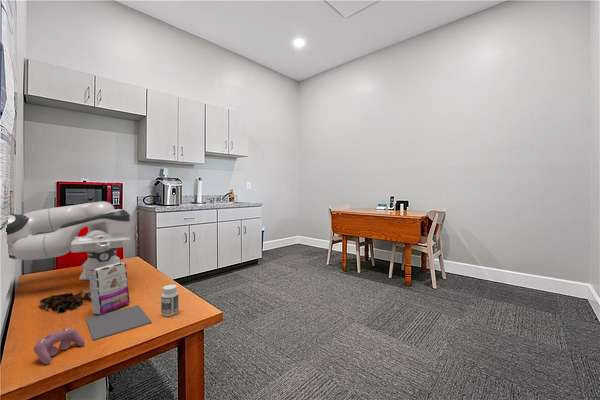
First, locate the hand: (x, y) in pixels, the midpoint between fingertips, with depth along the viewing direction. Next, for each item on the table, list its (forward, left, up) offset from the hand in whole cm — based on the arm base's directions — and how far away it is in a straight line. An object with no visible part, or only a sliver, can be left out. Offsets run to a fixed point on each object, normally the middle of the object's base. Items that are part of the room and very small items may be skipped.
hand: (104, 247), depth 107 cm
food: (-7, -7, -23) cm, 25 cm away
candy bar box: (+11, 0, -22) cm, 25 cm away
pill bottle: (+29, +15, -22) cm, 40 cm away
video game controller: (+34, -15, -22) cm, 43 cm away
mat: (+24, 0, -22) cm, 32 cm away
